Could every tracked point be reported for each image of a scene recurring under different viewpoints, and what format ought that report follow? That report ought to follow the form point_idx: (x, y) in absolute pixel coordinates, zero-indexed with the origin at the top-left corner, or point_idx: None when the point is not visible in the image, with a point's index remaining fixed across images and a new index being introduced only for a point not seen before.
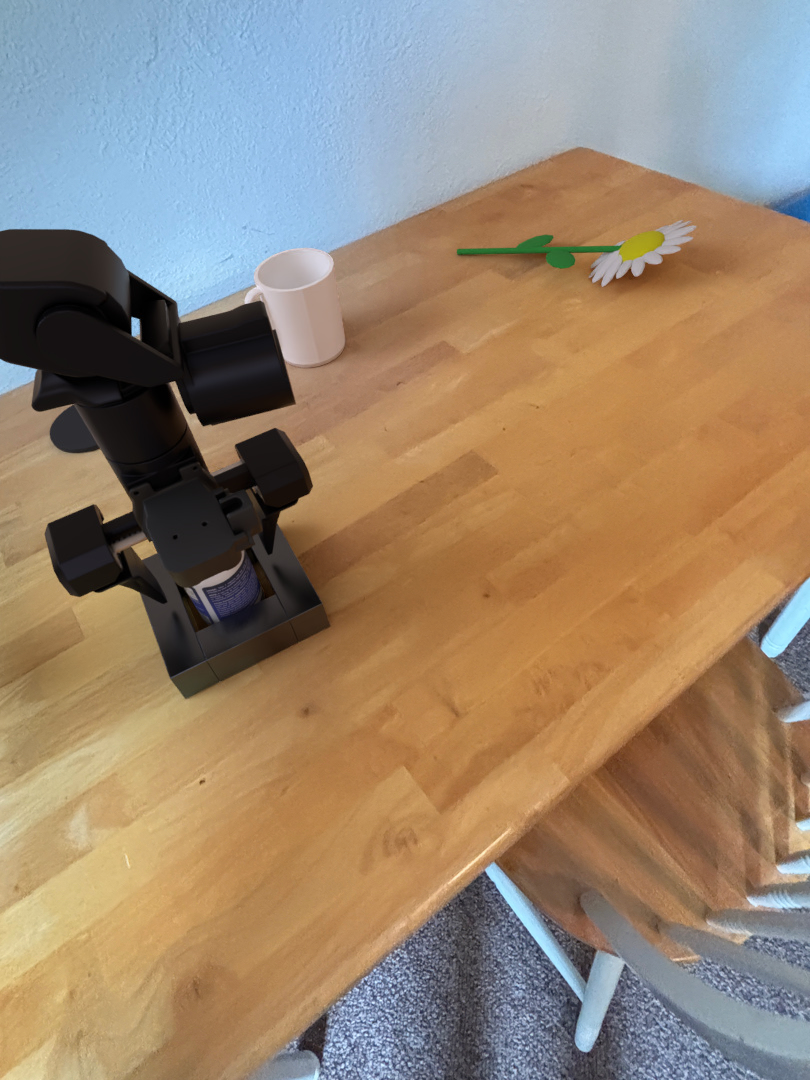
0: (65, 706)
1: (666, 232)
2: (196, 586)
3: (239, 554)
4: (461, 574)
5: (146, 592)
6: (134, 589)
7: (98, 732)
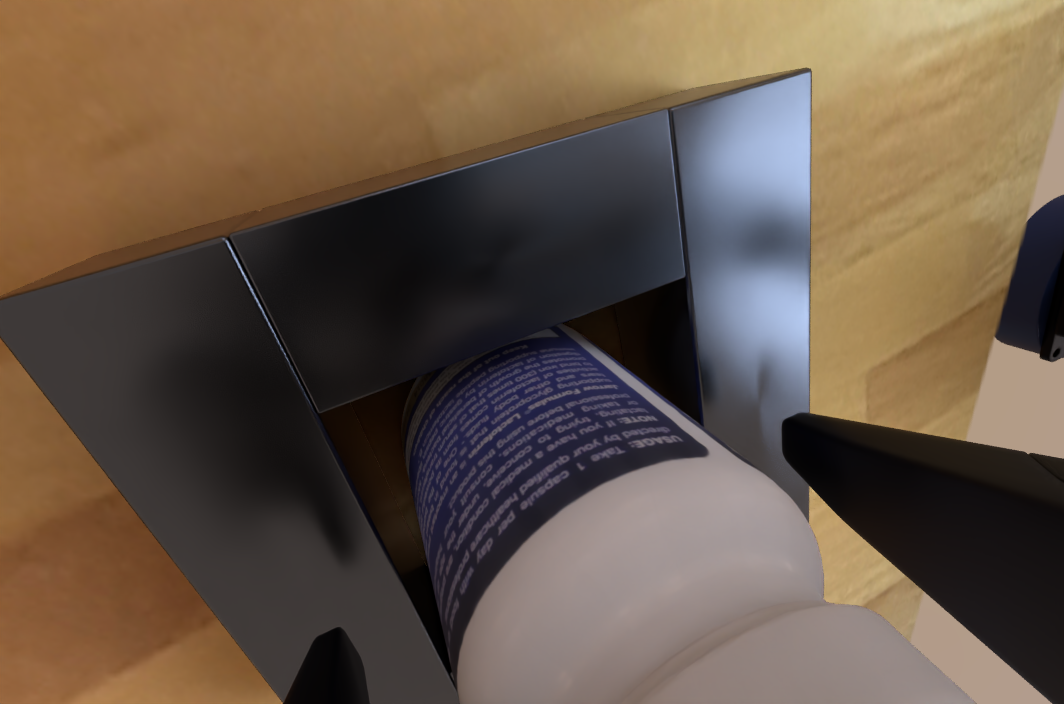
0: (944, 185)
1: None
2: (739, 467)
3: None
4: None
5: (965, 451)
6: None
7: (909, 66)
